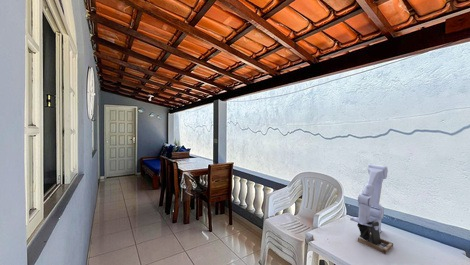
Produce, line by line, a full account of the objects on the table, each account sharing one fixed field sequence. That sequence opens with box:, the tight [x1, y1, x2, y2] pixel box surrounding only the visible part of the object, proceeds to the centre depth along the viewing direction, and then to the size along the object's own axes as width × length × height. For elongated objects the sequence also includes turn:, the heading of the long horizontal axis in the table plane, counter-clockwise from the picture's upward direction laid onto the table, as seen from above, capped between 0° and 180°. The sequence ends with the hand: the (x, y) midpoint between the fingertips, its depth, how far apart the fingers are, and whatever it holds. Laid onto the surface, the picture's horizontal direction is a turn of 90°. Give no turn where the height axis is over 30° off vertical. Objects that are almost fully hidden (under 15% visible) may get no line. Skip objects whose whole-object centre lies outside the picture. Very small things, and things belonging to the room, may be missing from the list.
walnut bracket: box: [357, 233, 394, 255], centre depth 113 cm, size 12×14×2 cm
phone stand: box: [359, 221, 382, 246], centre depth 115 cm, size 9×6×12 cm, turn 24°
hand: (362, 236), depth 118 cm, fingers closed, pressing on phone stand
